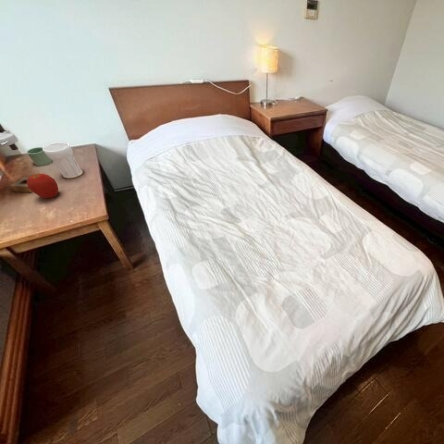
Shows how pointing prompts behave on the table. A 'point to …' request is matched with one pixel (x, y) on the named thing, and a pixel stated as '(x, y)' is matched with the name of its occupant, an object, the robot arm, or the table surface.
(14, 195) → the table surface
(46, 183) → the red ovoid fruit
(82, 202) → the table surface
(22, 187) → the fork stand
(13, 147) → the strawberry fork
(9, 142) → the robot arm
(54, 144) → the cup
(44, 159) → the dessert cup
